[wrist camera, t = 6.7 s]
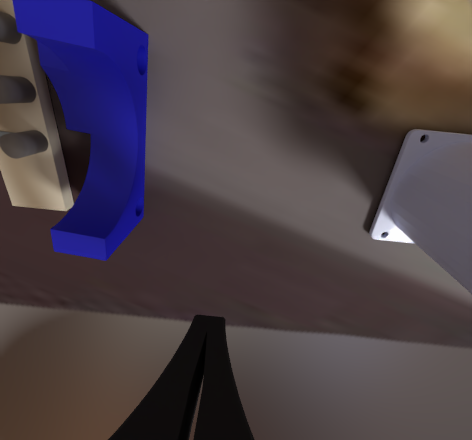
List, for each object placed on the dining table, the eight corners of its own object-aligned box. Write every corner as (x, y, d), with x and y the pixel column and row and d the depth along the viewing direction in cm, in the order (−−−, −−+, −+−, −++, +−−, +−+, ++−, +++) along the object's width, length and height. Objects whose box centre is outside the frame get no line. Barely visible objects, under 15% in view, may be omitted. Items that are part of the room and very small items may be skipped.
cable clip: (71, 17, 14) (-33, -28, 9) (149, 35, 15) (92, 1, 9) (87, 205, 20) (27, 246, 14) (144, 216, 20) (105, 260, 15)
